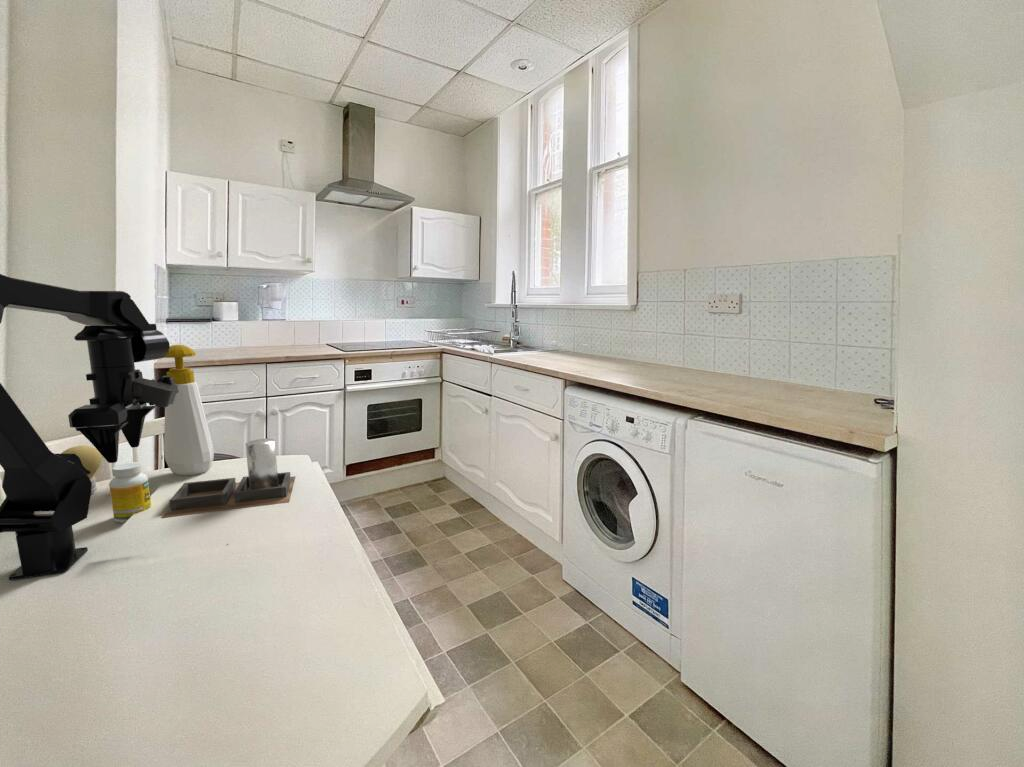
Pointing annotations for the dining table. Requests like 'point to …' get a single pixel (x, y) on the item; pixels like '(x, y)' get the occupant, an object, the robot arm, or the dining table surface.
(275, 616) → the dining table surface
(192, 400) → the soap bottle
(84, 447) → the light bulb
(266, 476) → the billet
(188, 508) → the brown divided tray
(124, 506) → the supplement bottle
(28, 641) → the dining table surface
